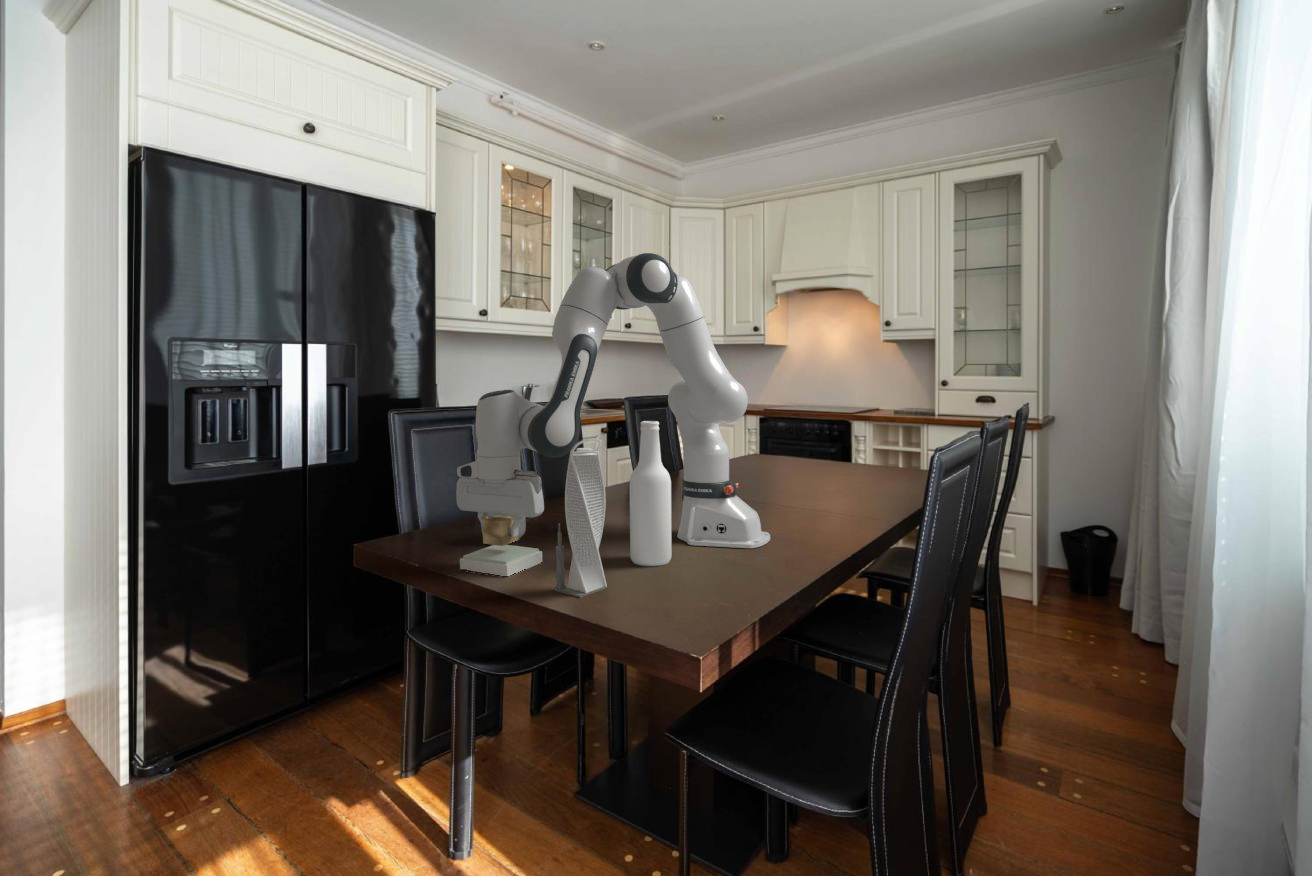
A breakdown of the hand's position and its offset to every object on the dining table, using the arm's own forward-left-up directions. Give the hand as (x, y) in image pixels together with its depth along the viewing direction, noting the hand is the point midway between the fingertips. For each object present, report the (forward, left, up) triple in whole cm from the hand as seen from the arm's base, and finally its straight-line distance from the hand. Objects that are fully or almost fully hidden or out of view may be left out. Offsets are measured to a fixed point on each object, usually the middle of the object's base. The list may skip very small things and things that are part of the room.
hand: (500, 534), depth 143 cm
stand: (0, 0, -7) cm, 7 cm away
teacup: (+14, -19, -7) cm, 25 cm away
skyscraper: (-24, +6, -7) cm, 26 cm away
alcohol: (-27, -16, -7) cm, 32 cm away
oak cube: (0, 0, -2) cm, 2 cm away
